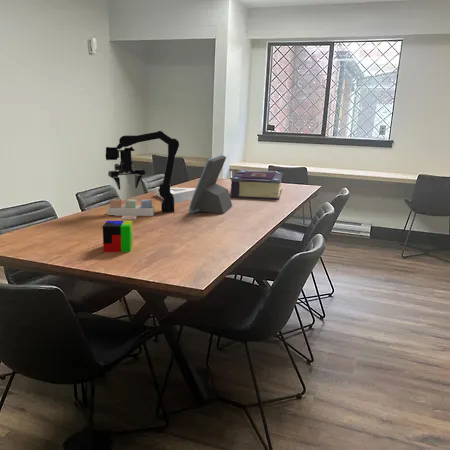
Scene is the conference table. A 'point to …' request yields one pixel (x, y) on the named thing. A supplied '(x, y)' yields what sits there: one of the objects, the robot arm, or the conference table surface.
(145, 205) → the slate blue key
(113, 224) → the puzzle toy
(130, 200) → the sage green key
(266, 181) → the book
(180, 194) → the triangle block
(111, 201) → the terracotta key
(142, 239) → the conference table surface
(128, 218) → the card
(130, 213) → the key console
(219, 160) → the touchscreen device
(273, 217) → the conference table surface
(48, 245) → the conference table surface
